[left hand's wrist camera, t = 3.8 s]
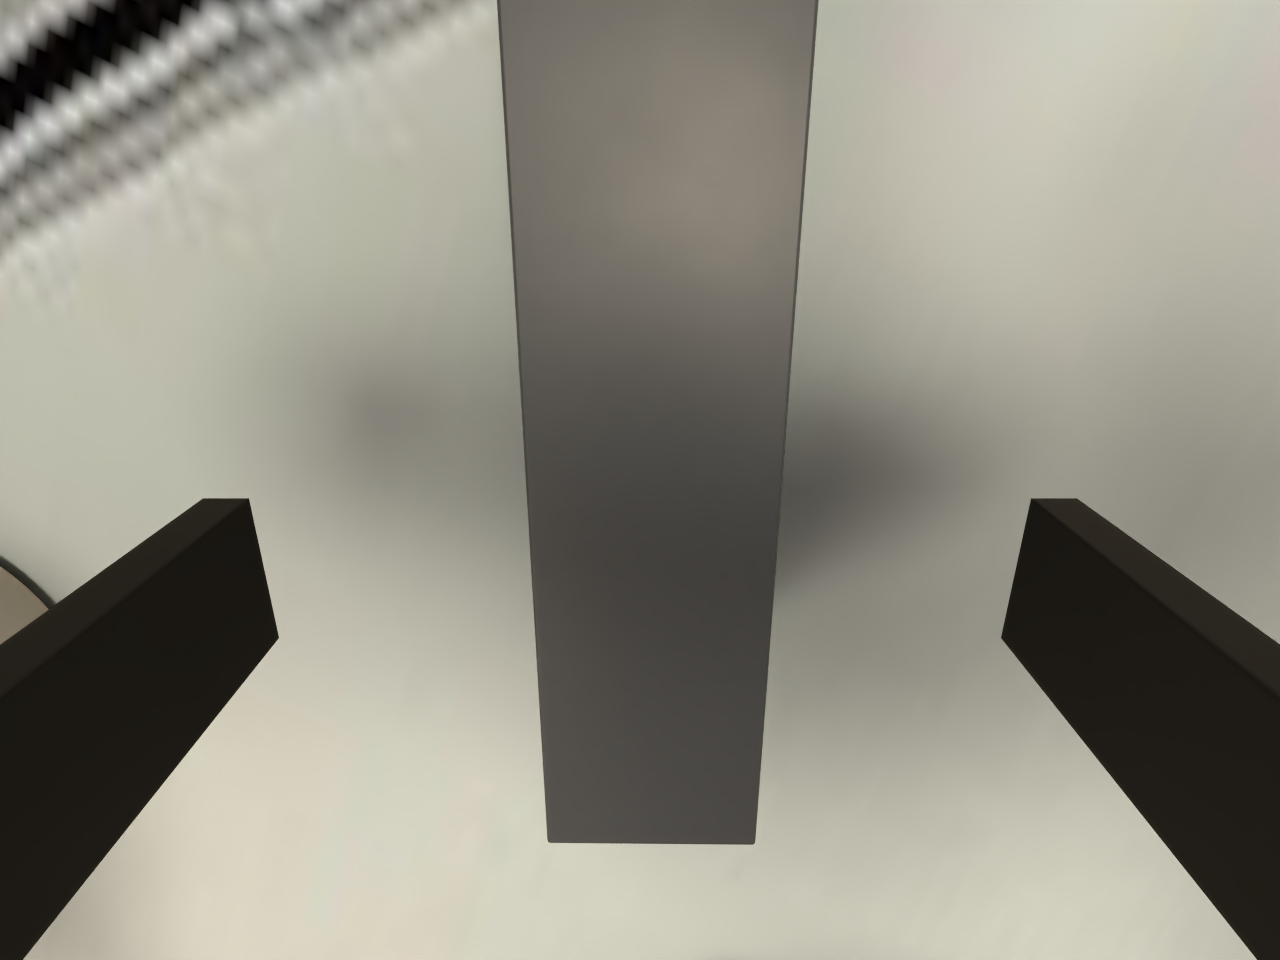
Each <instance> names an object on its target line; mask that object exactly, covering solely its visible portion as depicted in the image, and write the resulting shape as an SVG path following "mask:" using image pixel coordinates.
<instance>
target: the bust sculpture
mask: <svg viewBox="0 0 1280 960" xmlns="http://www.w3.org/2000/svg"><path fill="white" fill-rule="evenodd" d="M48 610H49V609H48V608H47V607H46V606H45V605H44V604H43V603H42V602H41V601H40V600H39V599H38V598H37V597H36V596H35V595H34V594H33V593H32V592H31V591H30V590H29V589H28V588H27V587H26V586H25V585H23V584H22V583H21V582H20V581H19V580H17V579H16V578H15V577H14V576H13V575H11V574H10V573H9V572H7V571H6V570H5V569H3V568H2V567H0V644H2V643H3V642H4V641H6V640H7V639H9V638H10V637H11V636H13V635H14V634H16V633H17V632H18V631H20V630H21V629H22V628H24V627H25V626H27V625H28V624H29V623H31V622H32V621H34V620H35V619H36V618H38V617H39V616H41V615H42V614H43V613H45V612H46V611H48Z"/></svg>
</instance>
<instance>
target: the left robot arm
mask: <svg viewBox="0 0 1280 960" xmlns="http://www.w3.org/2000/svg"><path fill="white" fill-rule="evenodd" d="M278 638H279V636H278V631H277V627H276V622H275V617H274V613H273V608H272V604H271V599H270V594H269V590H268V585H267V580H266V576H265V571H264V567H263V562H262V557H261V553H260V548H259V543H258V539H257V534H256V530H255V525H254V520H253V516H252V511H251V506H250V502H249V499H202V500H200V501H199V502H198V503H196V504H195V505H193V506H192V507H191V508H189V509H188V510H187V511H185V512H184V513H182V514H181V515H180V516H178V517H177V518H175V519H174V520H173V521H171V522H170V523H168V524H167V525H166V526H164V527H163V528H161V529H160V530H159V531H157V532H156V533H155V534H153V535H152V536H150V537H149V538H148V539H146V540H145V541H143V542H142V543H141V544H139V545H138V546H136V547H135V548H134V549H132V550H131V551H130V552H128V553H127V554H125V555H124V556H123V557H121V558H120V559H118V560H117V561H116V562H114V563H113V564H111V565H110V566H109V567H107V568H106V569H104V570H103V571H102V572H100V573H99V574H98V575H96V576H95V577H93V578H92V579H91V580H89V581H88V582H86V583H85V584H84V585H82V586H81V587H79V588H78V589H77V590H75V591H74V592H73V593H71V594H70V595H68V596H67V597H66V598H64V599H63V600H61V601H60V602H59V603H57V604H56V605H54V606H53V607H52V608H50V609H49V610H48V611H46V612H45V613H43V614H42V615H41V616H39V617H38V618H36V619H35V620H34V621H32V622H31V623H29V624H28V625H27V626H25V627H24V628H22V629H21V630H20V631H18V632H17V633H16V634H14V635H13V636H11V637H10V638H9V639H7V640H6V641H4V642H3V643H2V644H0V960H23V959H24V957H25V956H26V955H27V954H28V952H29V951H30V950H31V949H32V947H33V946H34V945H35V944H36V942H37V941H38V940H39V939H40V937H41V936H42V935H43V934H44V932H45V931H46V930H47V929H48V927H49V926H50V925H51V924H52V922H53V921H54V920H55V918H56V917H57V916H58V915H59V913H60V912H61V911H62V910H63V908H64V907H65V906H66V905H67V903H68V902H69V901H70V900H71V898H72V897H73V896H74V895H75V893H76V892H77V891H78V890H79V888H80V887H81V886H82V885H83V883H84V882H85V881H86V880H87V878H88V877H89V876H90V875H91V873H92V872H93V871H94V869H95V868H96V867H97V866H98V864H99V863H100V862H101V861H102V859H103V858H104V857H105V856H106V854H107V853H108V852H109V851H110V849H111V848H112V847H113V846H114V844H115V843H116V842H117V841H118V839H119V838H120V837H121V836H122V834H123V833H124V832H125V831H126V829H127V828H128V827H129V826H130V824H131V823H132V822H133V821H134V819H135V818H136V817H137V815H138V814H139V813H140V812H141V810H142V809H143V808H144V807H145V805H146V804H147V803H148V802H149V800H150V799H151V798H152V797H153V795H154V794H155V793H156V792H157V790H158V789H159V788H160V787H161V785H162V784H163V783H164V782H165V780H166V779H167V778H168V777H169V775H170V774H171V773H172V772H173V770H174V769H175V768H176V766H177V765H178V764H179V763H180V761H181V760H182V759H183V758H184V756H185V755H186V754H187V753H188V751H189V750H190V749H191V748H192V746H193V745H194V744H195V743H196V741H197V740H198V739H199V738H200V736H201V735H202V734H203V733H204V731H205V730H206V729H207V728H208V726H209V725H210V724H211V723H212V721H213V720H214V719H215V718H216V716H217V715H218V714H219V712H220V711H221V710H222V709H223V707H224V706H225V705H226V704H227V702H228V701H229V700H230V699H231V697H232V696H233V695H234V694H235V692H236V691H237V690H238V689H239V687H240V686H241V685H242V684H243V682H244V681H245V680H246V679H247V677H248V676H249V675H250V674H251V672H252V671H253V670H254V669H255V667H256V666H257V665H258V663H259V662H260V661H261V660H262V658H263V657H264V656H265V655H266V653H267V652H268V651H269V650H270V648H271V647H272V646H273V645H274V643H275V642H276V641H277V640H278ZM1001 638H1002V640H1003V641H1004V642H1005V643H1006V645H1007V646H1008V647H1009V648H1010V650H1011V651H1012V652H1013V653H1014V655H1015V656H1016V657H1017V658H1018V660H1019V661H1020V662H1021V663H1022V665H1023V666H1024V667H1025V669H1026V670H1027V671H1028V672H1029V674H1030V675H1031V676H1032V677H1033V679H1034V680H1035V681H1036V682H1037V684H1038V685H1039V686H1040V687H1041V689H1042V690H1043V691H1044V692H1045V694H1046V695H1047V696H1048V697H1049V699H1050V700H1051V701H1052V702H1053V704H1054V705H1055V706H1056V707H1057V709H1058V710H1059V711H1060V712H1061V714H1062V715H1063V716H1064V718H1065V719H1066V720H1067V721H1068V723H1069V724H1070V725H1071V726H1072V728H1073V729H1074V730H1075V731H1076V733H1077V734H1078V735H1079V736H1080V738H1081V739H1082V740H1083V741H1084V743H1085V744H1086V745H1087V746H1088V748H1089V749H1090V750H1091V751H1092V753H1093V754H1094V755H1095V756H1096V758H1097V759H1098V760H1099V761H1100V763H1101V764H1102V765H1103V766H1104V768H1105V769H1106V770H1107V772H1108V773H1109V774H1110V775H1111V777H1112V778H1113V779H1114V780H1115V782H1116V783H1117V784H1118V785H1119V787H1120V788H1121V789H1122V790H1123V792H1124V793H1125V794H1126V795H1127V797H1128V798H1129V799H1130V800H1131V802H1132V803H1133V804H1134V805H1135V807H1136V808H1137V809H1138V810H1139V812H1140V813H1141V814H1142V815H1143V817H1144V818H1145V819H1146V821H1147V822H1148V823H1149V824H1150V826H1151V827H1152V828H1153V829H1154V831H1155V832H1156V833H1157V834H1158V836H1159V837H1160V838H1161V839H1162V841H1163V842H1164V843H1165V844H1166V846H1167V847H1168V848H1169V849H1170V851H1171V852H1172V853H1173V854H1174V856H1175V857H1176V858H1177V859H1178V861H1179V862H1180V863H1181V864H1182V866H1183V867H1184V868H1185V869H1186V871H1187V872H1188V873H1189V875H1190V876H1191V877H1192V878H1193V880H1194V881H1195V882H1196V883H1197V885H1198V886H1199V887H1200V888H1201V890H1202V891H1203V892H1204V893H1205V895H1206V896H1207V897H1208V898H1209V900H1210V901H1211V902H1212V903H1213V905H1214V906H1215V907H1216V908H1217V910H1218V911H1219V912H1220V913H1221V915H1222V916H1223V917H1224V918H1225V920H1226V921H1227V922H1228V924H1229V925H1230V926H1231V927H1232V929H1233V930H1234V931H1235V932H1236V934H1237V935H1238V936H1239V937H1240V939H1241V940H1242V941H1243V942H1244V944H1245V945H1246V946H1247V947H1248V949H1249V950H1250V951H1251V952H1252V954H1253V955H1254V956H1255V957H1256V959H1257V960H1280V644H1278V643H1277V642H1276V641H1274V640H1273V639H1271V638H1270V637H1269V636H1267V635H1266V634H1264V633H1263V632H1262V631H1260V630H1259V629H1258V628H1256V627H1255V626H1253V625H1252V624H1251V623H1249V622H1248V621H1246V620H1245V619H1244V618H1242V617H1241V616H1239V615H1238V614H1237V613H1235V612H1234V611H1232V610H1231V609H1230V608H1228V607H1227V606H1226V605H1224V604H1223V603H1221V602H1220V601H1219V600H1217V599H1216V598H1214V597H1213V596H1212V595H1210V594H1209V593H1207V592H1206V591H1205V590H1203V589H1202V588H1201V587H1199V586H1198V585H1196V584H1195V583H1194V582H1192V581H1191V580H1189V579H1188V578H1187V577H1185V576H1184V575H1182V574H1181V573H1180V572H1178V571H1177V570H1176V569H1174V568H1173V567H1171V566H1170V565H1169V564H1167V563H1166V562H1164V561H1163V560H1162V559H1160V558H1159V557H1157V556H1156V555H1155V554H1153V553H1152V552H1150V551H1149V550H1148V549H1146V548H1145V547H1144V546H1142V545H1141V544H1139V543H1138V542H1137V541H1135V540H1134V539H1132V538H1131V537H1130V536H1128V535H1127V534H1125V533H1124V532H1123V531H1121V530H1120V529H1119V528H1117V527H1116V526H1114V525H1113V524H1112V523H1110V522H1109V521H1107V520H1106V519H1105V518H1103V517H1102V516H1100V515H1099V514H1098V513H1096V512H1095V511H1093V510H1092V509H1091V508H1089V507H1088V506H1087V505H1085V504H1084V503H1082V502H1081V501H1080V500H1078V499H1031V502H1030V506H1029V511H1028V516H1027V520H1026V525H1025V530H1024V534H1023V539H1022V543H1021V548H1020V553H1019V557H1018V562H1017V567H1016V571H1015V576H1014V580H1013V585H1012V590H1011V594H1010V599H1009V604H1008V608H1007V613H1006V617H1005V622H1004V627H1003V631H1002V636H1001Z"/></svg>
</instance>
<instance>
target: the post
mask: <svg viewBox="0 0 1280 960" xmlns="http://www.w3.org/2000/svg"><path fill="white" fill-rule="evenodd" d="M497 6H498V23H499V40H500V56H501V73H502V90H503V106H504V123H505V140H506V156H507V173H508V189H509V206H510V223H511V239H512V256H513V273H514V289H515V306H516V323H517V339H518V356H519V372H520V389H521V406H522V422H523V439H524V456H525V472H526V489H527V506H528V522H529V539H530V555H531V572H532V589H533V605H534V622H535V639H536V655H537V672H538V689H539V705H540V722H541V738H542V755H543V772H544V788H545V805H546V822H547V838H548V842H550V843H638V844H750V845H753V844H754V843H755V836H756V823H757V810H758V797H759V783H760V770H761V757H762V743H763V730H764V717H765V703H766V690H767V677H768V664H769V650H770V637H771V624H772V610H773V597H774V584H775V571H776V557H777V544H778V531H779V517H780V504H781V491H782V478H783V464H784V451H785V438H786V424H787V411H788V398H789V384H790V371H791V358H792V345H793V331H794V318H795V305H796V291H797V278H798V265H799V252H800V238H801V225H802V212H803V198H804V185H805V172H806V159H807V145H808V132H809V119H810V105H811V92H812V79H813V65H814V52H815V39H816V26H817V12H818V0H497Z"/></svg>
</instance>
